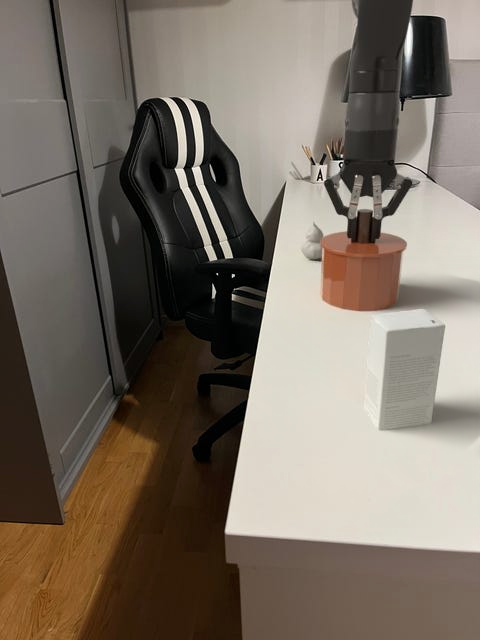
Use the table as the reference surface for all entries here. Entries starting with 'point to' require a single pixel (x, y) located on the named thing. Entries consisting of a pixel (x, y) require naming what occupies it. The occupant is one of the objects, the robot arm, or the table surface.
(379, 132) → the robot arm
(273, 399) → the table surface
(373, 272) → the jar
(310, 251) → the white lumpy pointed piece
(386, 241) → the jar lid
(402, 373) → the cosmetic box
